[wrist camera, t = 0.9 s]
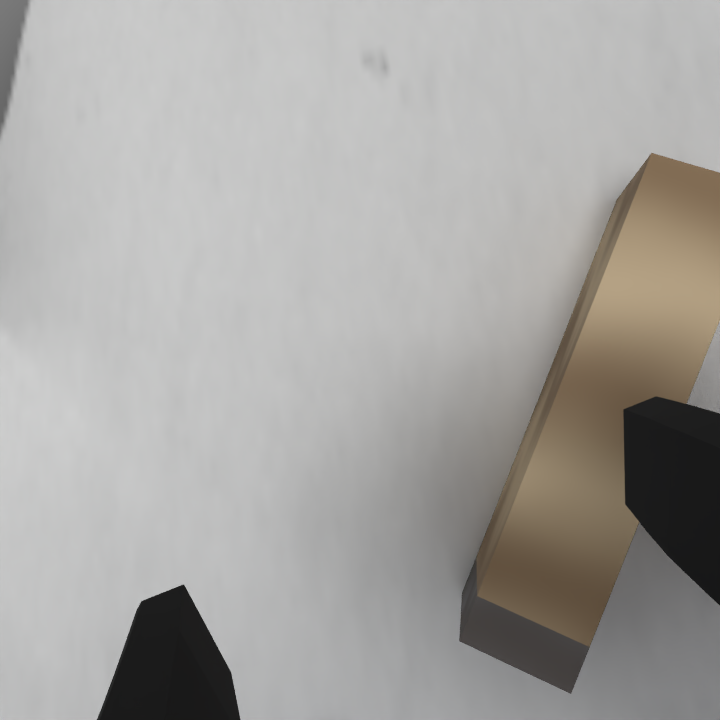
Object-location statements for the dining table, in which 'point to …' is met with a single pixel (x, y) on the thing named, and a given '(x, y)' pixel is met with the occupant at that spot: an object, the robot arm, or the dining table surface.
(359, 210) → the dining table surface
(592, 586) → the rail
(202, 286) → the dining table surface
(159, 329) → the dining table surface
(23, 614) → the dining table surface
